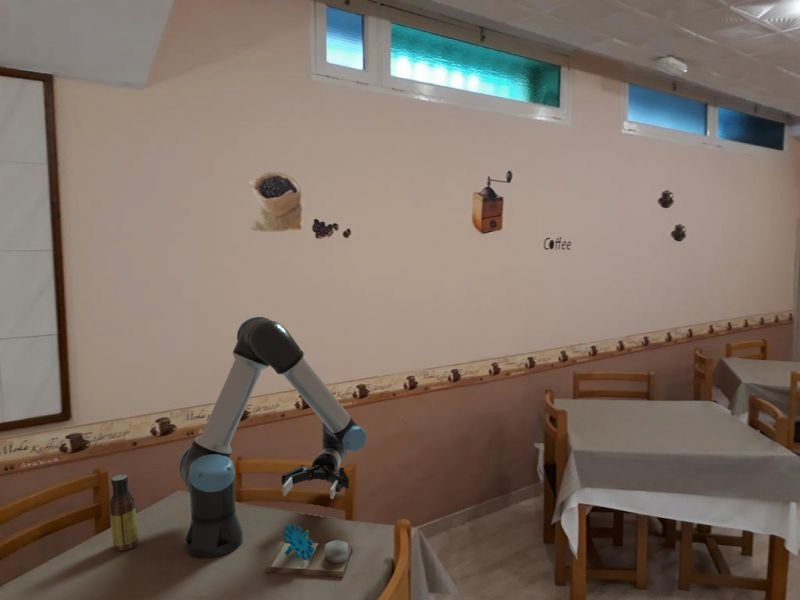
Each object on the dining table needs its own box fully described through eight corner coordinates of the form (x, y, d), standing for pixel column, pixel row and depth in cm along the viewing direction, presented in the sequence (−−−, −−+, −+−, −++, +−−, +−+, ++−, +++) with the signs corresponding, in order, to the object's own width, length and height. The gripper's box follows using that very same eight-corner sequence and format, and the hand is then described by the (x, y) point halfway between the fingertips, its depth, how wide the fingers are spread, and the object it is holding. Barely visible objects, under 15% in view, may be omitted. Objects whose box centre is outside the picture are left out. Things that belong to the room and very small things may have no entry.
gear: (305, 562, 139) (280, 530, 141) (289, 577, 140) (265, 545, 142) (322, 545, 150) (299, 516, 152) (308, 559, 151) (285, 529, 153)
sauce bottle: (139, 538, 158) (136, 470, 156) (136, 550, 152) (132, 479, 150) (114, 542, 156) (110, 473, 154) (110, 554, 150) (105, 482, 148)
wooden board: (265, 572, 141) (265, 555, 141) (280, 546, 153) (280, 531, 153) (343, 577, 139) (342, 559, 139) (352, 551, 151) (352, 535, 150)
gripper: (365, 478, 176) (351, 508, 155) (288, 473, 179) (264, 502, 158) (365, 454, 175) (351, 482, 154) (288, 450, 178) (264, 477, 157)
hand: (307, 492), depth 156 cm, fingers open, 13 cm apart
